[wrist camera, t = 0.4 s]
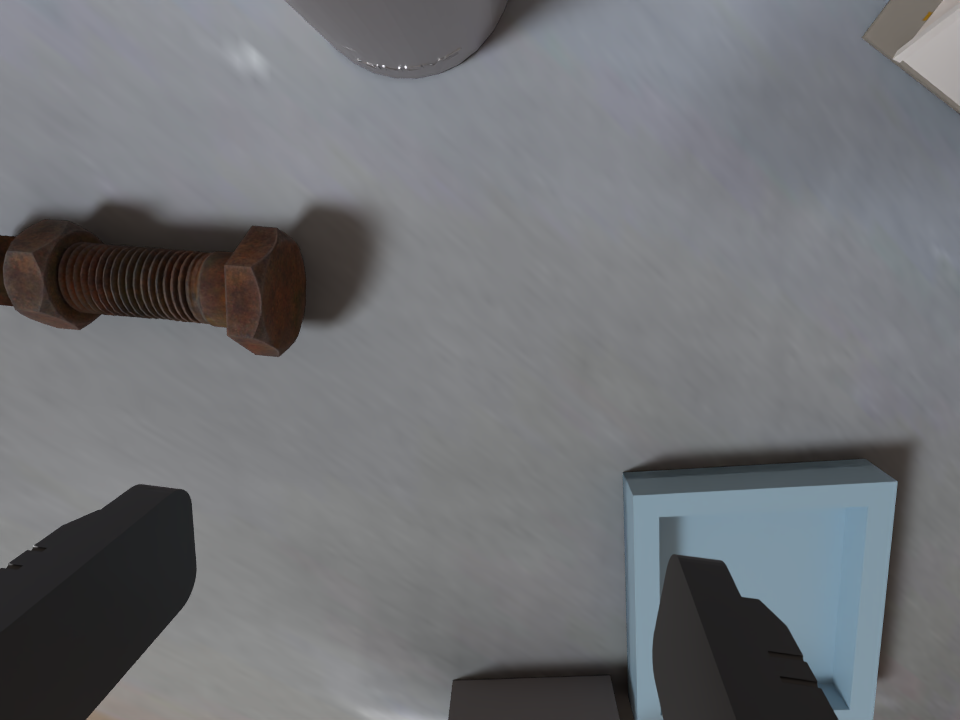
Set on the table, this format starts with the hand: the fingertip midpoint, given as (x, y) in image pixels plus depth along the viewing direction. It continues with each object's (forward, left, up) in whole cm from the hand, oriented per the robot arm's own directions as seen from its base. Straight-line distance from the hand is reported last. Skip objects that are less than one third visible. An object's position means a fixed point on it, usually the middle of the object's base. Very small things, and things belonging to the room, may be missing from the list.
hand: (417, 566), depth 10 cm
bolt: (-4, -16, -20) cm, 25 cm away
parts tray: (+15, +13, -19) cm, 28 cm away
